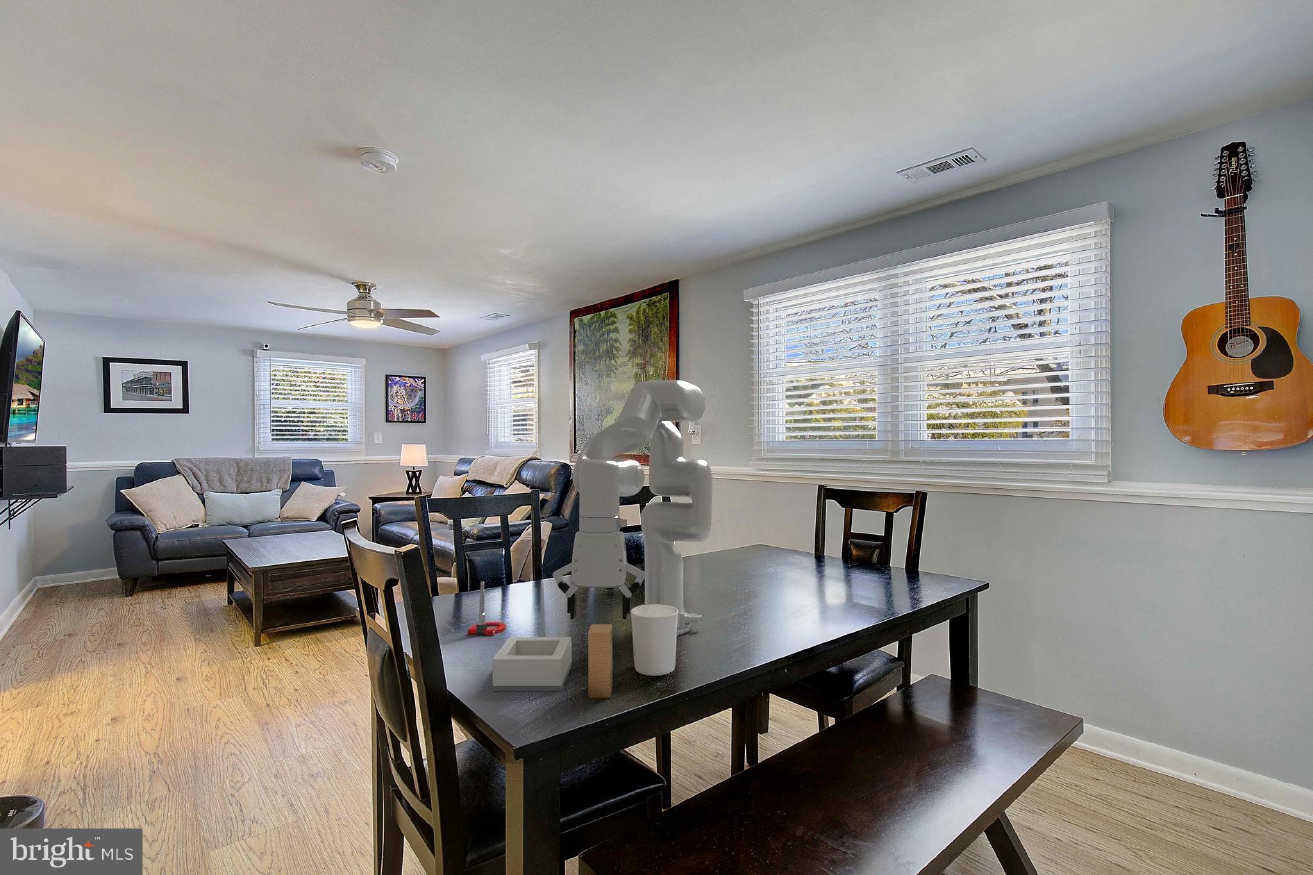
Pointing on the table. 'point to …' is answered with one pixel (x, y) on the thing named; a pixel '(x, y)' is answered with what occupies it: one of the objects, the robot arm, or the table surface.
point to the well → (532, 664)
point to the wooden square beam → (600, 661)
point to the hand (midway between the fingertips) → (599, 617)
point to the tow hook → (482, 625)
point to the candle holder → (654, 638)
